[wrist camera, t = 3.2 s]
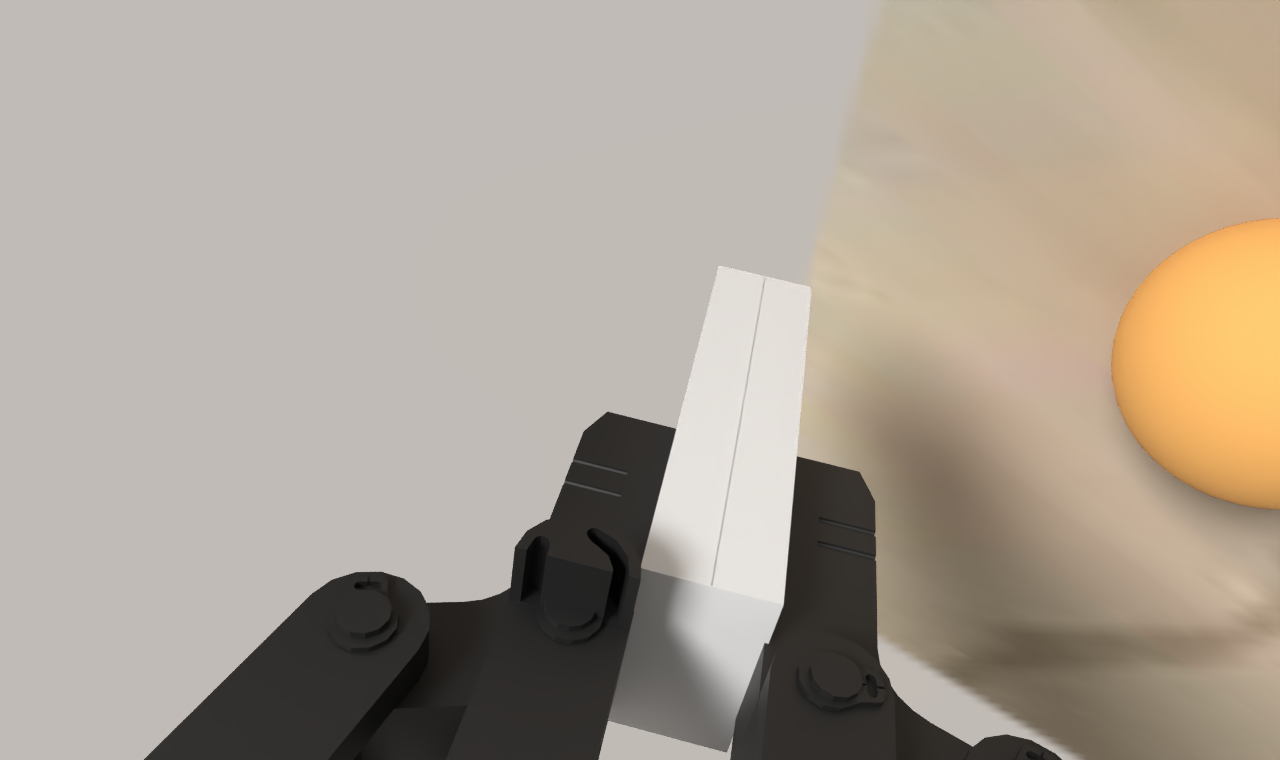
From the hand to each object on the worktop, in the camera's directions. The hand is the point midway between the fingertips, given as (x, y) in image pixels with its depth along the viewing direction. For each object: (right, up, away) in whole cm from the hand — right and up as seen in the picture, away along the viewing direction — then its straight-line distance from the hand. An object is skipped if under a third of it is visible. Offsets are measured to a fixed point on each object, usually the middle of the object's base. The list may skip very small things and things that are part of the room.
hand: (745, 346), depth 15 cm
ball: (+10, 0, +2) cm, 11 cm away
